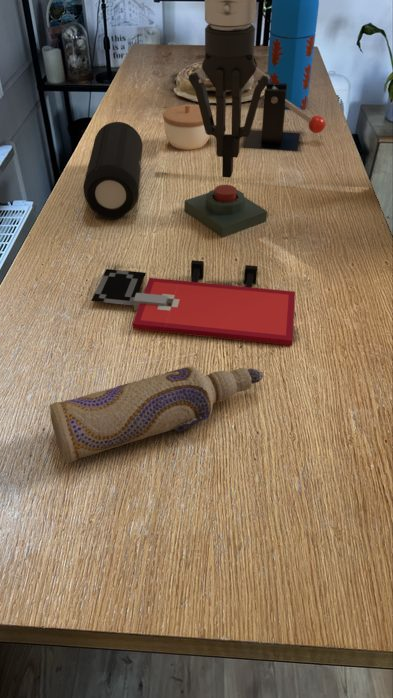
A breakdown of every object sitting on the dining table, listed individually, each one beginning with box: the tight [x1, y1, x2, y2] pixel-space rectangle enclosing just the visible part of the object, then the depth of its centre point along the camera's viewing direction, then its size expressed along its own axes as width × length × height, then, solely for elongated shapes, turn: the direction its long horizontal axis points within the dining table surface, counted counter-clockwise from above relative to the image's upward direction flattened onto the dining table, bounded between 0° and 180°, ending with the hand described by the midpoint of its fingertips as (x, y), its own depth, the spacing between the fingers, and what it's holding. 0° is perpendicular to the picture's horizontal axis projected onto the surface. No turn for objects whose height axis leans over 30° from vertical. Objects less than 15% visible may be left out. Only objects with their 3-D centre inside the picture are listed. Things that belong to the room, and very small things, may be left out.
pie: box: [172, 61, 266, 104], centre depth 162 cm, size 28×27×5 cm
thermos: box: [266, 0, 320, 111], centre depth 144 cm, size 11×11×25 cm
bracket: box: [242, 83, 301, 152], centre depth 129 cm, size 12×10×13 cm
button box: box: [183, 189, 268, 239], centre depth 108 cm, size 12×10×4 cm
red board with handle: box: [90, 259, 296, 346], centre depth 88 cm, size 30×3×15 cm
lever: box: [272, 86, 326, 134], centre depth 127 cm, size 14×4×4 cm, turn 79°
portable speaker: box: [82, 121, 144, 220], centre depth 113 cm, size 26×10×10 cm, turn 2°
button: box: [213, 184, 238, 203], centre depth 106 cm, size 4×4×2 cm
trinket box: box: [162, 104, 211, 150], centre depth 129 cm, size 11×11×9 cm
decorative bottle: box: [49, 365, 264, 463], centre depth 69 cm, size 26×8×7 cm, turn 112°
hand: (227, 173), depth 103 cm, fingers closed
